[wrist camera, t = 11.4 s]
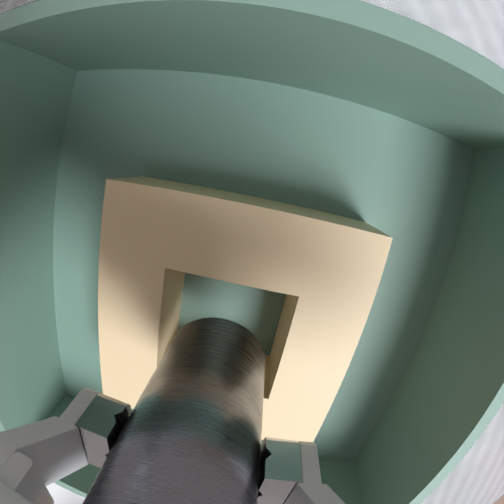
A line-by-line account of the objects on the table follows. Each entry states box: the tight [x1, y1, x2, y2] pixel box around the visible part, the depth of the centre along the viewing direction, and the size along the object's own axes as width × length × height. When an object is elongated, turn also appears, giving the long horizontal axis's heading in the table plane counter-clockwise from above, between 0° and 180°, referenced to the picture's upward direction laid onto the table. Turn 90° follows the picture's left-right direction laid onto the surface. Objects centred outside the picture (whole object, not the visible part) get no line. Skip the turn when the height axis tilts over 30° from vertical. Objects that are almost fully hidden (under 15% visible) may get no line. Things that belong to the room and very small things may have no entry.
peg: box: [83, 317, 265, 504], centre depth 8 cm, size 4×4×10 cm
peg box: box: [0, 0, 504, 504], centre depth 14 cm, size 26×26×9 cm
